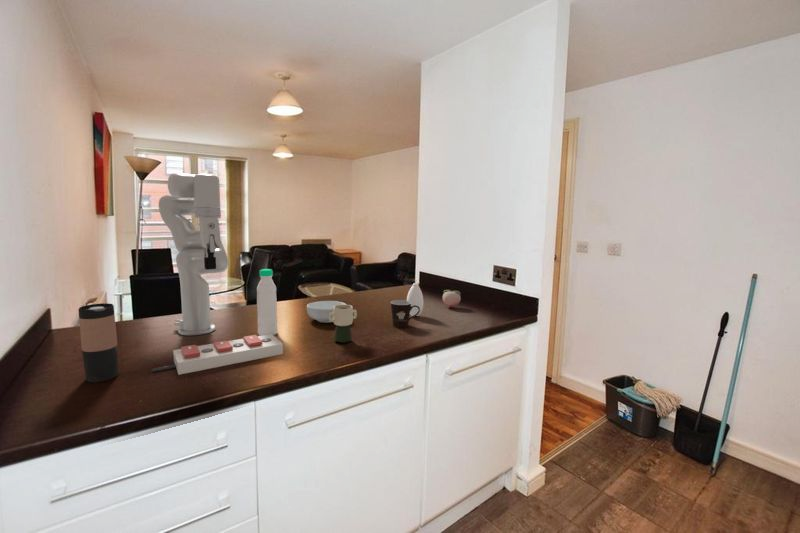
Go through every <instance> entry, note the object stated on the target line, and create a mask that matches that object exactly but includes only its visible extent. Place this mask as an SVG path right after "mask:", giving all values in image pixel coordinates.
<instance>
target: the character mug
mask: <svg viewBox="0 0 800 533" xmlns="http://www.w3.org/2000/svg"><path fill="white" fill-rule="evenodd" d="M332 315H333V319H331V316H332ZM357 316H358V311H357V310H356V309H354V307H353V305H351V304H346V305H335V306H334V307H333V313H329V323H333V324H334V325H335V326H336V327H335V331H334V339H333V340H334V341H336V342H338V343H349V342H350V341H352V339H353V338H352V330H351V327H350V325H352V324H353V323H354V322H353V321H354V320H355V319H357Z"/></svg>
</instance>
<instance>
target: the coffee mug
mask: <svg viewBox="0 0 800 533" xmlns="http://www.w3.org/2000/svg"><path fill="white" fill-rule="evenodd" d="M413 307H417V308H418V309H419V311H418V313H419V312H420V308H419V307H418V306H416V305H414V306H412V307H411V302H409V301H407V300H405V299H403V300H401V299H399V300H397V299H396V300H392V301H390V309H391V320H392V327H393V326H394V327H393V328H396V327H398V329H405V328H404V327H406V328H407V326H408V327H409V322H410V320H411V319H413V318H416V317H415V316H416V315H417V314H418V313H417V314H415V315H414V316H411V314H410V311H411V309H412V308H413Z"/></svg>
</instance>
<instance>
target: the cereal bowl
mask: <svg viewBox="0 0 800 533" xmlns="http://www.w3.org/2000/svg"><path fill="white" fill-rule="evenodd" d="M335 305H347V303H345V302H342V301H337V300H321V301H320V300H319V301H314V302H309V303H307V305H306V312H307V315H308V316H309V317H310V318H311V319H312V320H316V321H317V322H319V323H323V324H324V323H330V322H329V313H333V307H334V306H335ZM331 319H333V315H332V316H331Z"/></svg>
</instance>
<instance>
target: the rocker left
mask: <svg viewBox="0 0 800 533" xmlns="http://www.w3.org/2000/svg"><path fill="white" fill-rule="evenodd" d="M197 346H198V345H197V344H190V345H184V346H181V347H180V349H181V350H182V353H183V355H184V358H189V357H195V356H200V351H199V349H198V347H197Z"/></svg>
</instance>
